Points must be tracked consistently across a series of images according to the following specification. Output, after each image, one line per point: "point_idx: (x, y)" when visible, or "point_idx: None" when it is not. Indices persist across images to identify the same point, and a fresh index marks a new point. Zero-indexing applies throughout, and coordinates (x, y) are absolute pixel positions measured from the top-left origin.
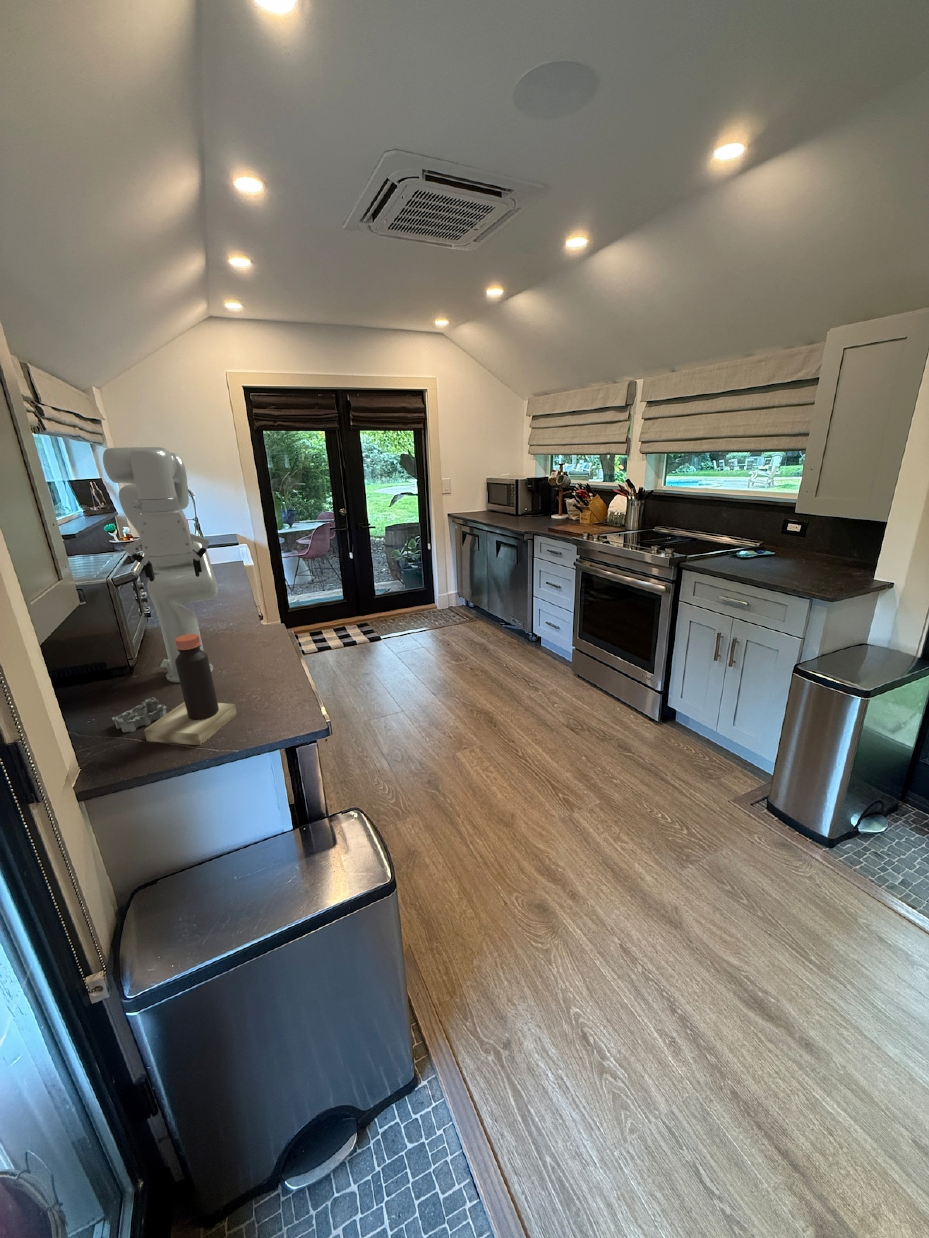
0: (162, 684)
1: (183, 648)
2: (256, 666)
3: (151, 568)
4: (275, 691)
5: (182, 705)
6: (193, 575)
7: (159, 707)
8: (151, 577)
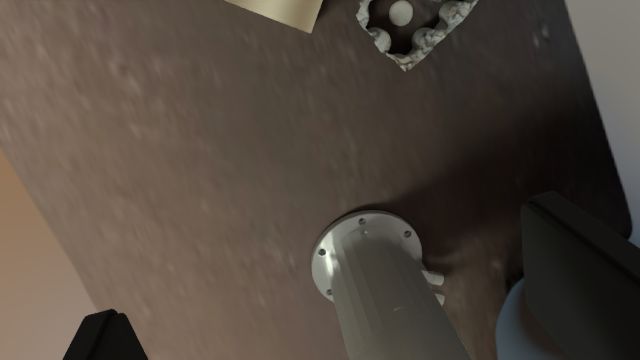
0: (420, 209)
1: None
2: (195, 276)
3: (603, 326)
4: (74, 103)
5: (309, 1)
6: None
7: (380, 30)
8: (553, 209)
